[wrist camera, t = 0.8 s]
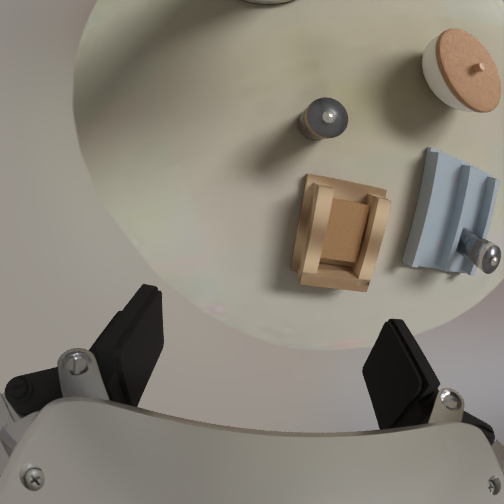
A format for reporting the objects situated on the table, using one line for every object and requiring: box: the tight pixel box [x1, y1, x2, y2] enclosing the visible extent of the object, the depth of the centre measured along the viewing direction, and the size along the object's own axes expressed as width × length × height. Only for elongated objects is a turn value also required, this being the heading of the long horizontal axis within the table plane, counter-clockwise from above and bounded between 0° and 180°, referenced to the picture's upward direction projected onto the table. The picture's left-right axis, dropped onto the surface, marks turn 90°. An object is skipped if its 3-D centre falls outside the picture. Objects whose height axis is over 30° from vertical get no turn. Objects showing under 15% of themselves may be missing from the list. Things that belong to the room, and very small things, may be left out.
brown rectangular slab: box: [320, 198, 369, 262], centre depth 30 cm, size 7×5×1 cm, turn 173°
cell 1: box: [298, 98, 348, 140], centre depth 25 cm, size 4×4×8 cm
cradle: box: [290, 174, 391, 292], centre depth 31 cm, size 12×10×4 cm
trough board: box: [402, 148, 499, 276], centre depth 30 cm, size 16×13×3 cm
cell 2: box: [456, 228, 501, 274], centre depth 28 cm, size 4×4×8 cm
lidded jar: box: [422, 29, 501, 112], centre depth 20 cm, size 11×11×9 cm
